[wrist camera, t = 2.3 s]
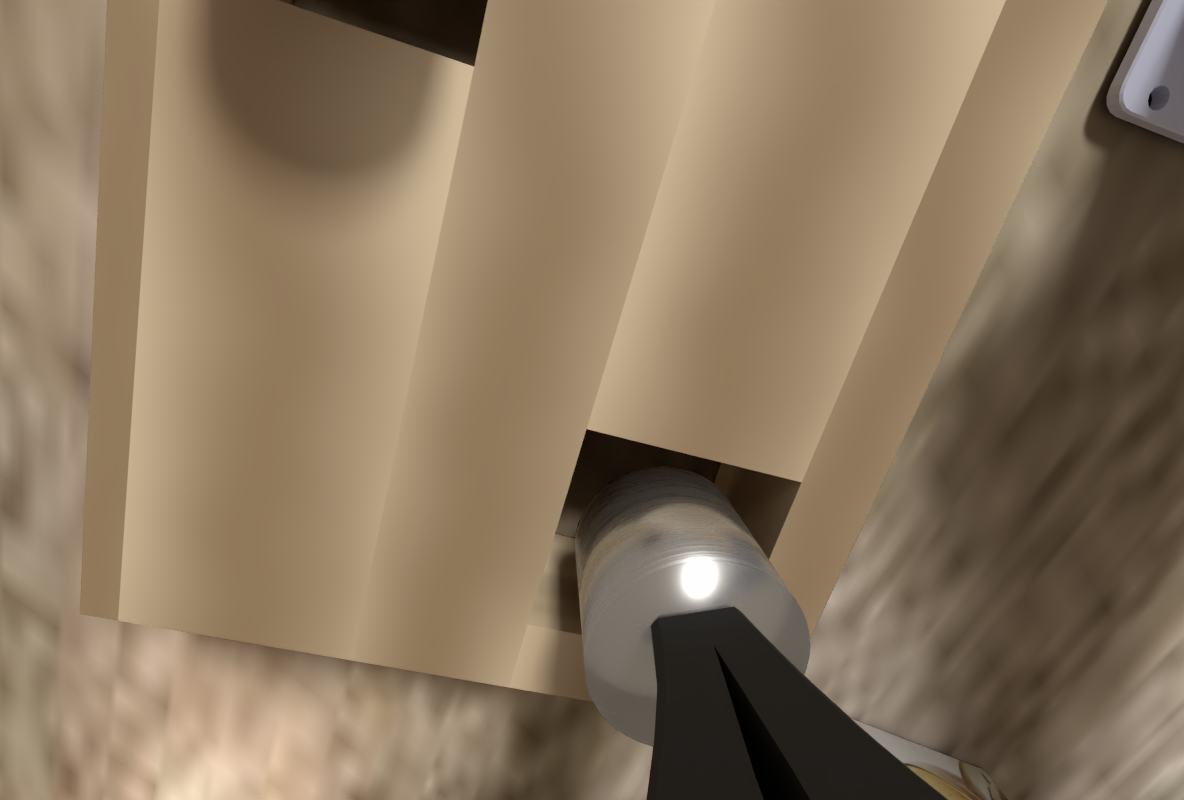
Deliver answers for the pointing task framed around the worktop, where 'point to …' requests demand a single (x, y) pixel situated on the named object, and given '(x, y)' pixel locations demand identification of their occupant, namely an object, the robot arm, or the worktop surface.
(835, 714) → the robot arm
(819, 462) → the maple board
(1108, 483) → the worktop surface
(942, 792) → the coffee box
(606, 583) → the steel peg
